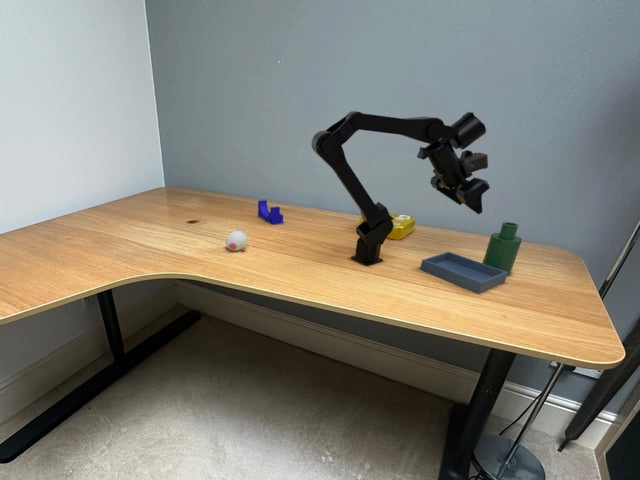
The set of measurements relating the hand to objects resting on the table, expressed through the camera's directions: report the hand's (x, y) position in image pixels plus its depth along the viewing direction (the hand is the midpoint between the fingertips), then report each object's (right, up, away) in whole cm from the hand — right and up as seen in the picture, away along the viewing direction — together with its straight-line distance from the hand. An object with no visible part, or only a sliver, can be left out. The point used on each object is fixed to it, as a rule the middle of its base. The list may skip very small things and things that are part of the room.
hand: (470, 208), depth 100 cm
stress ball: (-64, -10, +14) cm, 66 cm away
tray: (-5, -18, -3) cm, 19 cm away
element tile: (-13, -2, +29) cm, 32 cm away
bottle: (+6, -17, -1) cm, 18 cm away
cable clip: (-53, +4, +41) cm, 67 cm away
